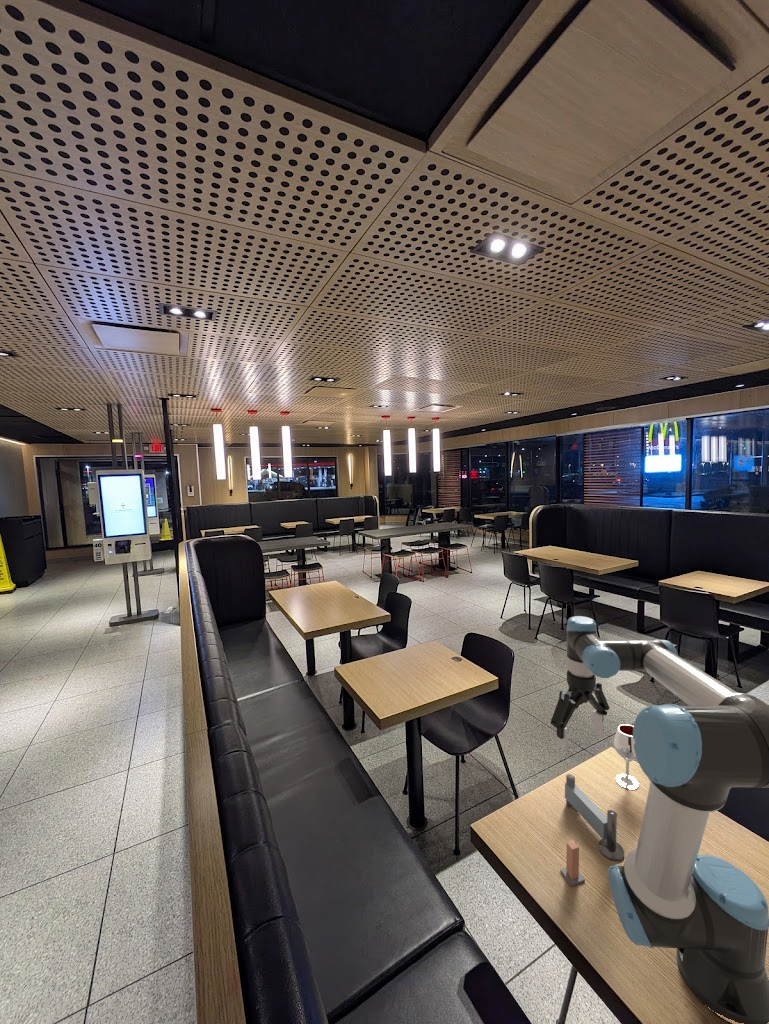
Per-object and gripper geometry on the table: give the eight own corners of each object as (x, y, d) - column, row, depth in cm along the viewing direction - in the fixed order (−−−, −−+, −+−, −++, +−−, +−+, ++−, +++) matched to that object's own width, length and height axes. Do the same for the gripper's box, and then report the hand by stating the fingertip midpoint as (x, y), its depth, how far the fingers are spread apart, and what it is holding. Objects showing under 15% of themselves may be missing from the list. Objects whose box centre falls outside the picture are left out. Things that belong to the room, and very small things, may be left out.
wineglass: (606, 778, 136) (608, 727, 133) (623, 769, 139) (625, 719, 137) (630, 795, 128) (632, 742, 126) (647, 786, 132) (649, 733, 130)
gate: (610, 843, 113) (611, 813, 112) (603, 845, 112) (603, 815, 111) (570, 800, 128) (571, 773, 126) (564, 802, 127) (564, 775, 126)
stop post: (584, 881, 104) (585, 849, 103) (571, 886, 103) (571, 854, 101) (573, 866, 108) (573, 835, 106) (560, 871, 106) (560, 840, 105)
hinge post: (629, 857, 109) (630, 819, 108) (611, 864, 108) (612, 826, 106) (611, 837, 115) (612, 801, 114) (593, 843, 113) (594, 807, 112)
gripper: (601, 656, 126) (600, 721, 129) (537, 675, 117) (537, 745, 120) (624, 666, 120) (622, 735, 122) (557, 688, 110) (557, 762, 113)
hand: (580, 740), depth 121 cm, fingers open, 13 cm apart
